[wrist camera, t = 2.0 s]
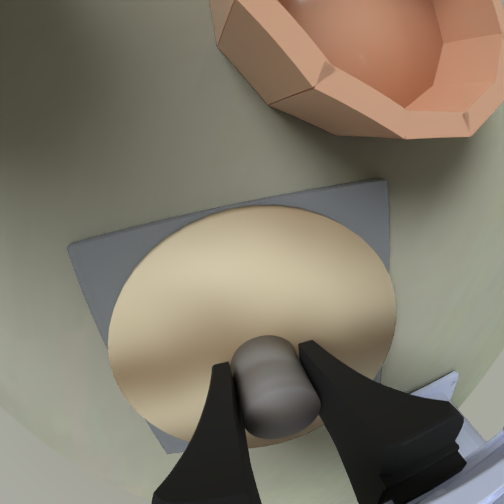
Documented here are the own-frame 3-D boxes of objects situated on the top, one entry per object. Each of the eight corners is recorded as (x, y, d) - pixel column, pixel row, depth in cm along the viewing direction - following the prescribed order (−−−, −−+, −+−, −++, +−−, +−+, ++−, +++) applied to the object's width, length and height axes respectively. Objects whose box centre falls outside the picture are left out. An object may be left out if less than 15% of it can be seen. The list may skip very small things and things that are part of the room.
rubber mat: (374, 393, 18) (377, 398, 17) (166, 447, 16) (167, 453, 15) (380, 178, 13) (387, 179, 12) (71, 243, 11) (66, 247, 11)
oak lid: (378, 398, 17) (409, 443, 13) (168, 453, 16) (170, 510, 12) (387, 179, 12) (453, 199, 9) (66, 248, 11) (22, 296, 7)
